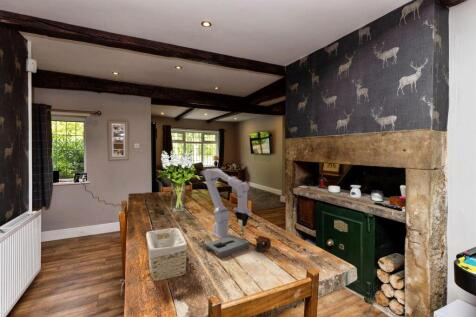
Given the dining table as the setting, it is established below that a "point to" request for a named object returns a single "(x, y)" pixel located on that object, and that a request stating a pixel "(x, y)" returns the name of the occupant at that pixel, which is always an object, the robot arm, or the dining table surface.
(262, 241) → the dark wooden box
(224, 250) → the keyhole plate
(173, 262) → the storage basket
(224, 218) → the robot arm
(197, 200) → the dining table surface
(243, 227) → the brass peg
